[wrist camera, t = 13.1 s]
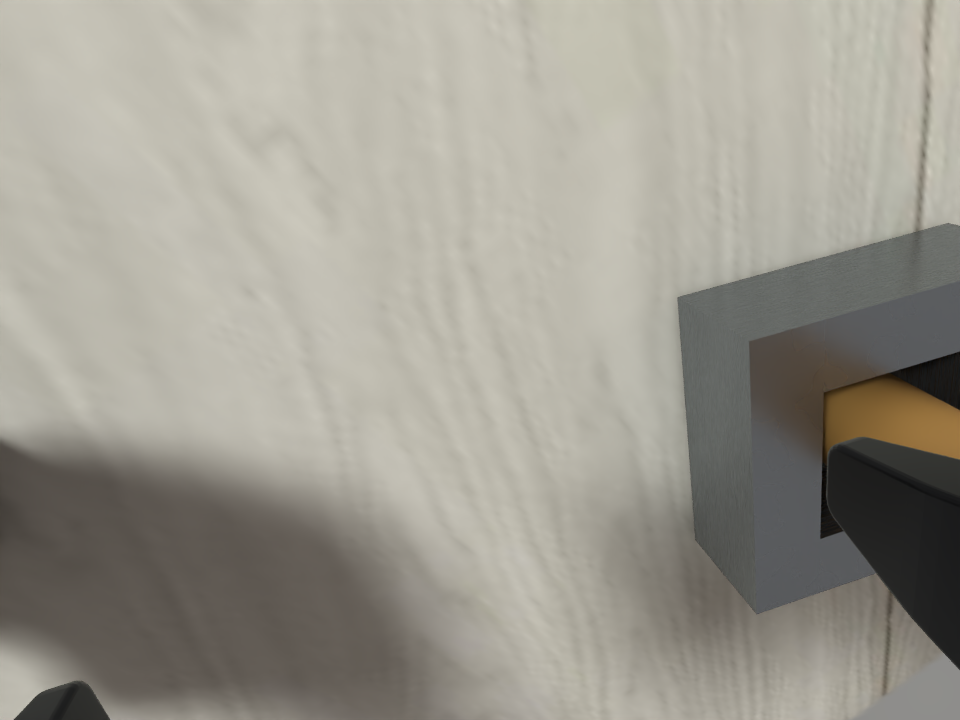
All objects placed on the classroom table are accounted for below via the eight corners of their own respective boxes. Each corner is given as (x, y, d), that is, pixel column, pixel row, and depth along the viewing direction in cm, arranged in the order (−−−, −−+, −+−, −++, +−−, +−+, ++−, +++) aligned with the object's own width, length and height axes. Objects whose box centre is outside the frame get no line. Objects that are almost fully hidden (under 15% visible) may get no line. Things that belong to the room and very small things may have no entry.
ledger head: (695, 540, 26) (756, 614, 23) (677, 297, 22) (749, 341, 19) (1092, 411, 29) (1205, 460, 25) (1144, 169, 25) (1288, 186, 21)
